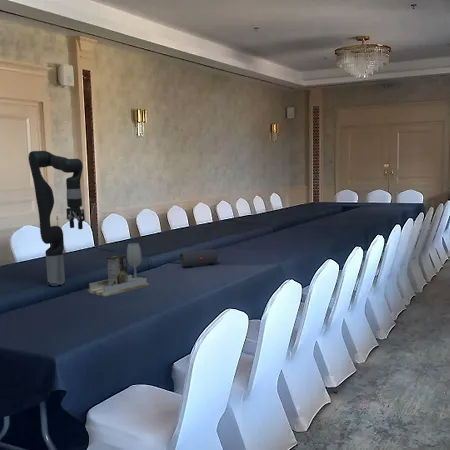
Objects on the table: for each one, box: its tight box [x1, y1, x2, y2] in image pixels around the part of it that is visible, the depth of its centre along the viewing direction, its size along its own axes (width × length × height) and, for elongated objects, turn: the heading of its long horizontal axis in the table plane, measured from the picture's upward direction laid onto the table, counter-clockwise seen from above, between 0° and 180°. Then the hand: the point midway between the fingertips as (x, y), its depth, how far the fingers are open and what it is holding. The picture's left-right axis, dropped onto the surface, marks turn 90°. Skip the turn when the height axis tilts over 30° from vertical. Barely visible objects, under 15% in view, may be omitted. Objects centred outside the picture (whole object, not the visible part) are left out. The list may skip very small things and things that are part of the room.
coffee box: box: [106, 254, 129, 286], centre depth 295 cm, size 9×6×16 cm
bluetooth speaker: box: [179, 248, 219, 268], centre depth 349 cm, size 23×9×10 cm, turn 114°
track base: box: [87, 274, 150, 298], centre depth 296 cm, size 16×28×4 cm, turn 134°
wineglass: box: [126, 242, 143, 280], centre depth 314 cm, size 9×9×21 cm
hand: (76, 228), depth 290 cm, fingers open, 8 cm apart
